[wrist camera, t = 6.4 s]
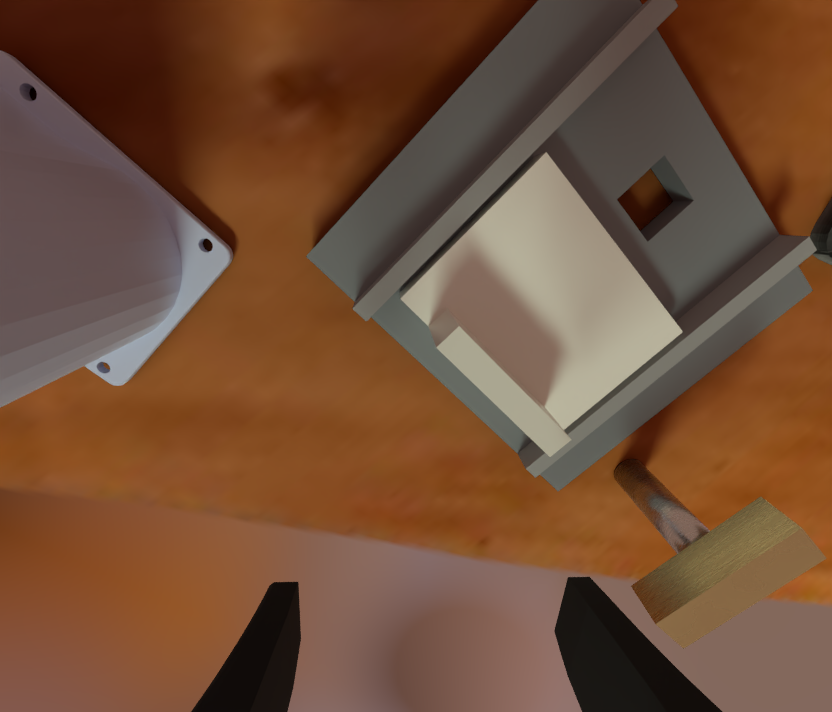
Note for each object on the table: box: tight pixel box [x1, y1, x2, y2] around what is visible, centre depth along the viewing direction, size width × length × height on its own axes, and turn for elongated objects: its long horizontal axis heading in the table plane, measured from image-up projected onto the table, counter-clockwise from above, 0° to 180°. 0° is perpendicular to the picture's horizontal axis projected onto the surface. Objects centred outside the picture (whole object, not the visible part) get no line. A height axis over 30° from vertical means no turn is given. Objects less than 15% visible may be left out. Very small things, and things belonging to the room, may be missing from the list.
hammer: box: [614, 459, 826, 648], centre depth 18 cm, size 2×6×7 cm, turn 135°
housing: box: [306, 0, 817, 491], centre depth 16 cm, size 16×14×2 cm
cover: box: [399, 152, 683, 457], centre depth 15 cm, size 9×7×4 cm
